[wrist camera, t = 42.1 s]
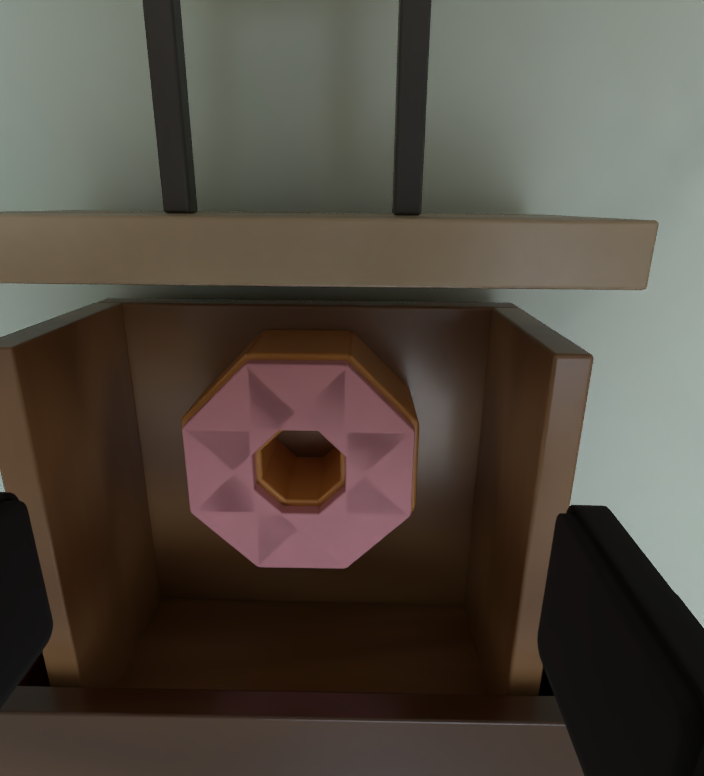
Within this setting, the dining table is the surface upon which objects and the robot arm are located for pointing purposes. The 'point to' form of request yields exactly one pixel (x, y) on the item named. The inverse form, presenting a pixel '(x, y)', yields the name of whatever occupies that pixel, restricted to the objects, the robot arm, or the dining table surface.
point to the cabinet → (278, 732)
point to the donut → (303, 474)
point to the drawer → (217, 351)
